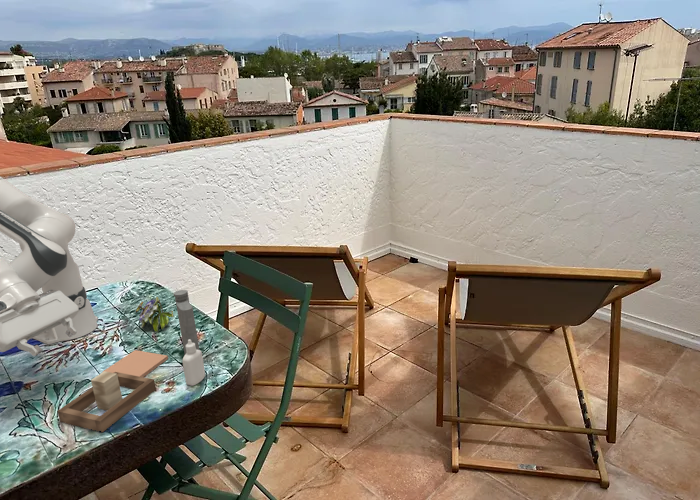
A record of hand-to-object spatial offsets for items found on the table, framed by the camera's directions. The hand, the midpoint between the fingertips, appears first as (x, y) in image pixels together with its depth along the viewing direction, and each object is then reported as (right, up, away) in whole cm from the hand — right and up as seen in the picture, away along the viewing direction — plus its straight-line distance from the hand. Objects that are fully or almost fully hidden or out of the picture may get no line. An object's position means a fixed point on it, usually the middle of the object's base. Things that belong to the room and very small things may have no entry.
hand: (56, 343), depth 112 cm
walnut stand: (+13, -15, +1) cm, 20 cm away
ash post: (+13, -15, +1) cm, 20 cm away
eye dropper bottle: (+31, -12, +10) cm, 35 cm away
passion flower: (+7, -3, +43) cm, 43 cm away
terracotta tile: (+11, -10, +18) cm, 23 cm away
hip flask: (+25, -8, +23) cm, 35 cm away
